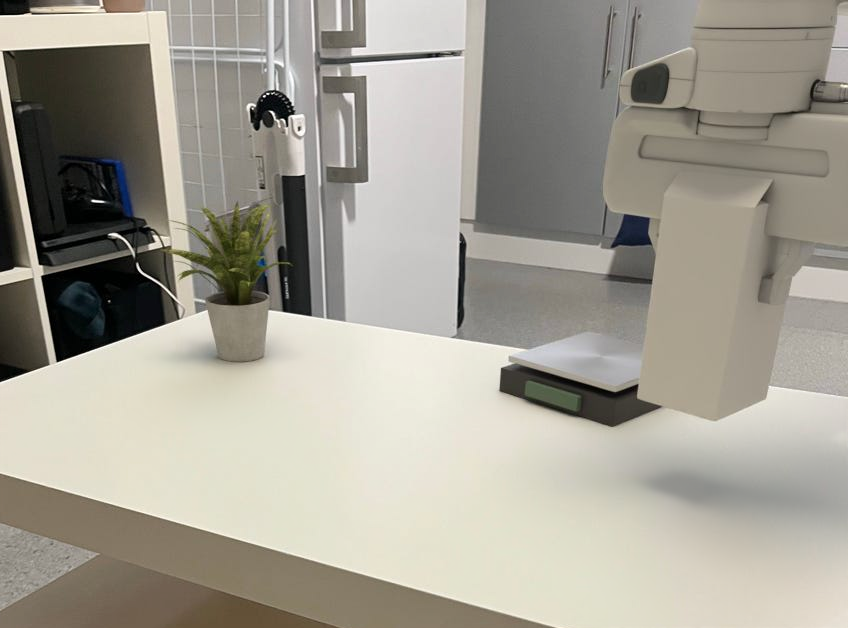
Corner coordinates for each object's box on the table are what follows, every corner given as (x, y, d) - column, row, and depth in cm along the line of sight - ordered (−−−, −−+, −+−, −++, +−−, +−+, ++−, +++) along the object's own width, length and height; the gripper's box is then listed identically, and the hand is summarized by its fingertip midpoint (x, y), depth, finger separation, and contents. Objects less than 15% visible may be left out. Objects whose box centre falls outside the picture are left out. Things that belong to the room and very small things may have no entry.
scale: (584, 362, 111) (586, 340, 110) (695, 393, 102) (699, 369, 101) (495, 392, 103) (496, 368, 101) (608, 428, 94) (611, 403, 93)
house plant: (215, 329, 123) (203, 182, 114) (321, 339, 119) (317, 188, 110) (156, 363, 111) (137, 203, 102) (271, 376, 107) (262, 210, 98)
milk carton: (715, 424, 75) (766, 140, 65) (635, 400, 79) (671, 131, 69) (766, 401, 79) (822, 129, 68) (687, 380, 83) (729, 122, 73)
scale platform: (587, 336, 109) (588, 330, 108) (693, 363, 101) (694, 357, 100) (508, 361, 101) (508, 355, 101) (615, 392, 93) (616, 386, 93)
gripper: (935, 81, 62) (877, 310, 70) (652, 70, 75) (629, 263, 83) (889, 88, 59) (833, 328, 66) (601, 75, 72) (581, 277, 79)
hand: (718, 292), depth 75 cm, fingers closed on milk carton, 7 cm apart
